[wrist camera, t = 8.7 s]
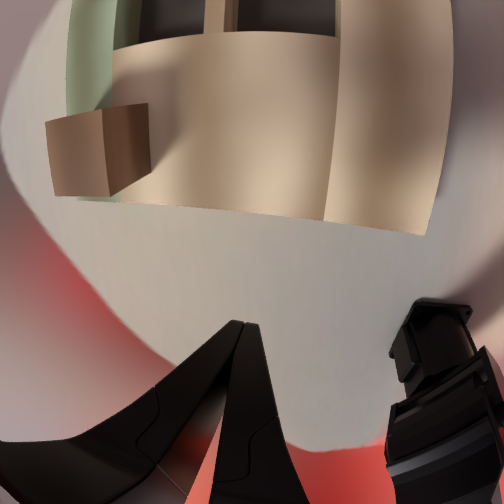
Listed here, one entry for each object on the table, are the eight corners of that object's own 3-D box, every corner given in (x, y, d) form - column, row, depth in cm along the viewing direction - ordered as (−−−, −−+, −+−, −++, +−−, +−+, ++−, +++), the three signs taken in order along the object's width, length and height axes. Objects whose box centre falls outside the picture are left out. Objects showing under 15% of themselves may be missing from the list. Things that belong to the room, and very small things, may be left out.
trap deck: (427, -13, 8) (446, -27, 5) (408, 214, 16) (424, 235, 14) (101, -8, 11) (75, -15, 8) (101, 186, 19) (77, 200, 17)
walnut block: (148, 102, 13) (101, 108, 9) (151, 172, 15) (110, 197, 11) (93, 111, 13) (45, 122, 10) (98, 173, 15) (55, 195, 12)
